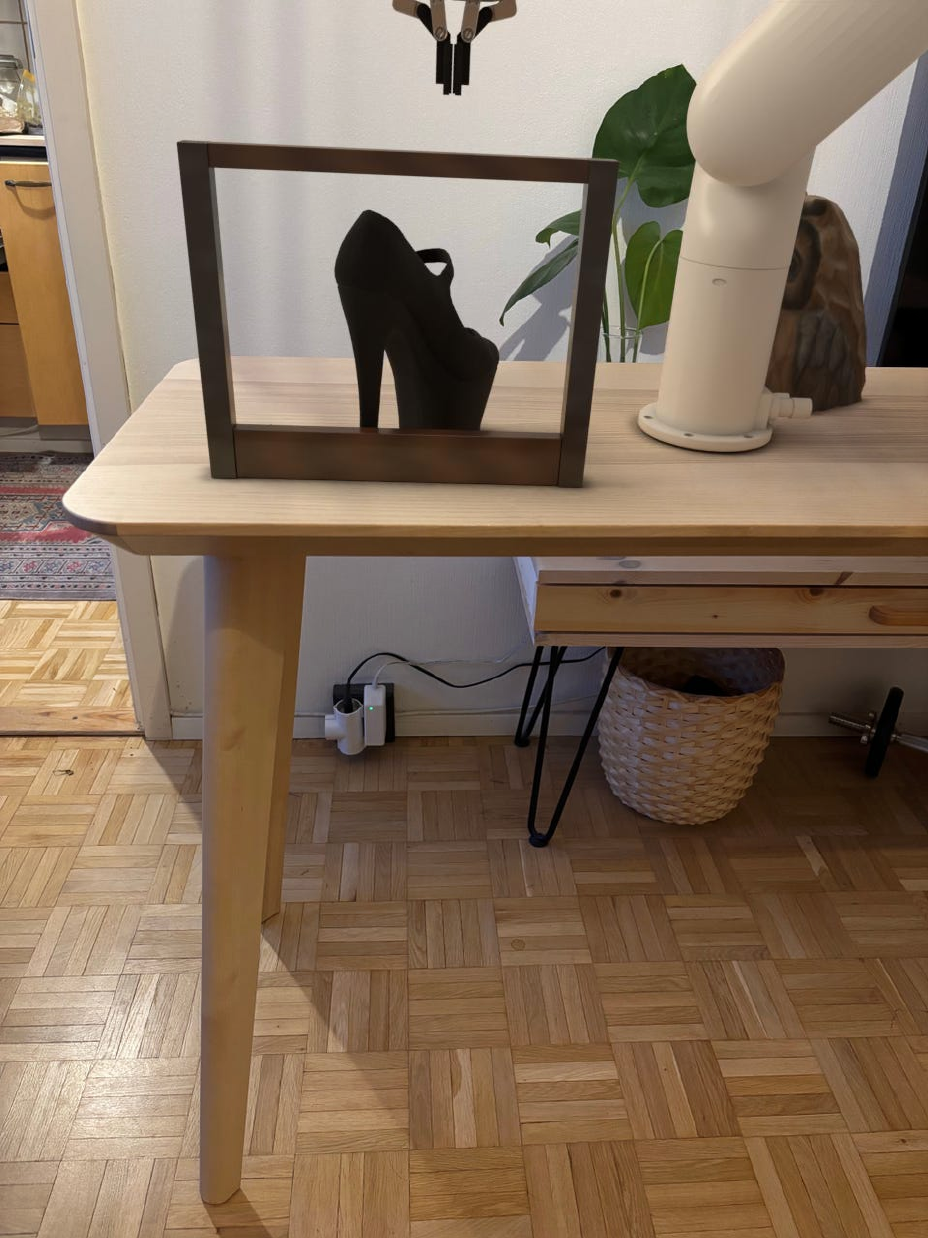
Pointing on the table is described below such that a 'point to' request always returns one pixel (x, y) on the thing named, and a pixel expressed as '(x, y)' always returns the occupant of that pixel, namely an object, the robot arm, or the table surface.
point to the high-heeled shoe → (410, 331)
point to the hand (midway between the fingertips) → (451, 94)
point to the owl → (821, 313)
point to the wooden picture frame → (393, 448)
